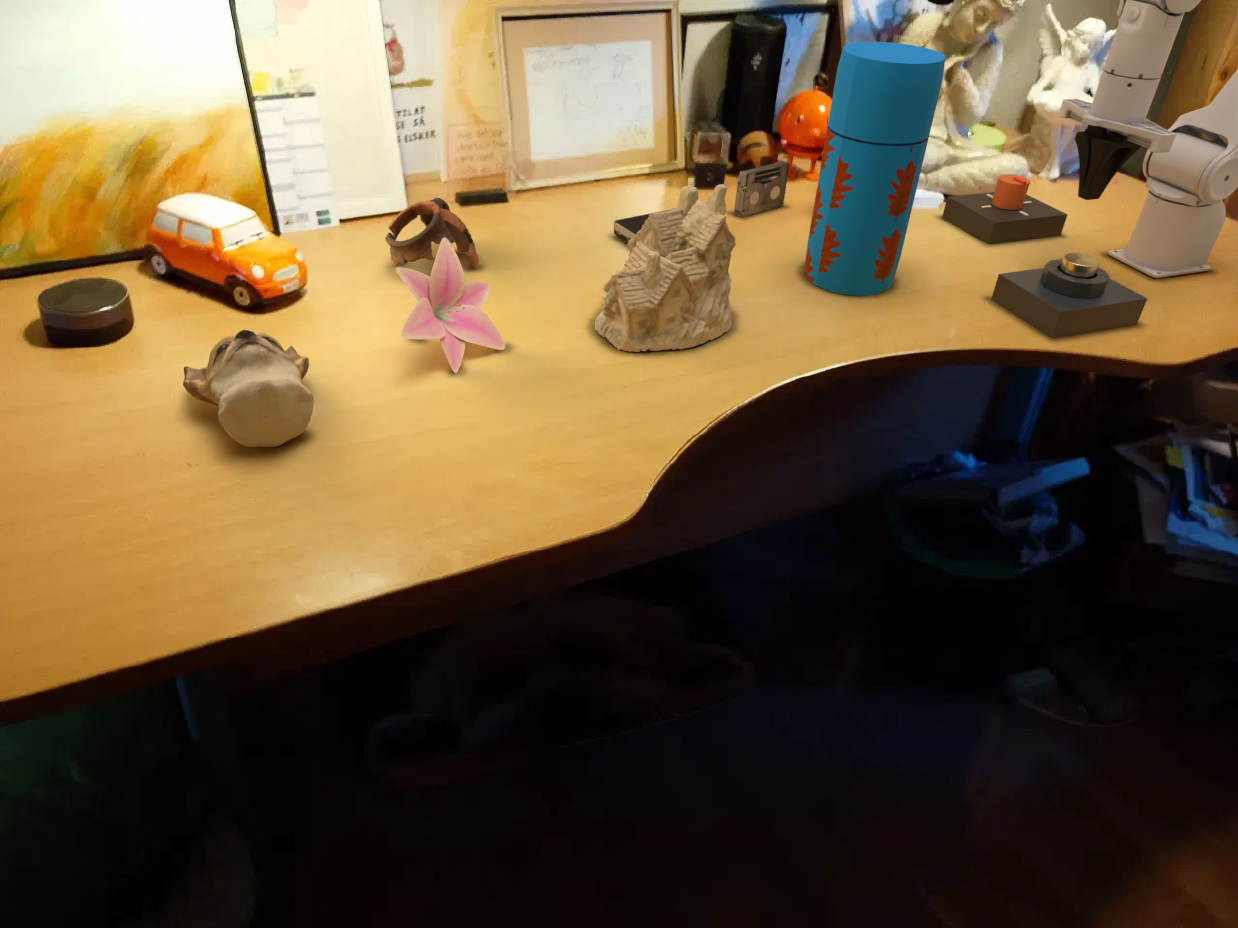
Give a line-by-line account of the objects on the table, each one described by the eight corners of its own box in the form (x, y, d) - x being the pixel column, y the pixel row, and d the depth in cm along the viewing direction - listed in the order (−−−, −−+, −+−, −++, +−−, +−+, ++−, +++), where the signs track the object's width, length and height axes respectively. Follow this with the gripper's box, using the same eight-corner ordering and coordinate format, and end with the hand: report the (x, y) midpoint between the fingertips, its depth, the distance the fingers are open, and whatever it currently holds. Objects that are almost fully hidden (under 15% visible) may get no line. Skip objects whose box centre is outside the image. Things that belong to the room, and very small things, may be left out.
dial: (985, 201, 123) (992, 173, 121) (1008, 198, 125) (1016, 171, 122) (1004, 211, 120) (1013, 183, 118) (1028, 208, 122) (1037, 180, 119)
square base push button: (1071, 287, 109) (1086, 248, 106) (1136, 324, 101) (1154, 283, 98) (990, 299, 105) (1003, 258, 102) (1051, 338, 97) (1067, 296, 94)
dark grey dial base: (1010, 210, 130) (1017, 188, 128) (1060, 236, 122) (1068, 213, 121) (941, 217, 126) (947, 195, 124) (988, 244, 119) (995, 221, 117)
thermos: (887, 262, 112) (937, 45, 98) (900, 299, 104) (957, 67, 89) (799, 255, 113) (835, 38, 98) (805, 292, 104) (846, 60, 90)
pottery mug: (485, 283, 104) (446, 229, 98) (414, 312, 106) (372, 262, 100) (484, 219, 111) (449, 166, 105) (418, 248, 114) (380, 198, 108)
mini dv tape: (775, 203, 128) (781, 160, 125) (783, 206, 127) (789, 163, 124) (733, 214, 124) (739, 170, 121) (741, 217, 123) (747, 173, 120)
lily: (386, 393, 85) (422, 324, 79) (353, 301, 90) (385, 229, 84) (496, 395, 92) (537, 332, 86) (460, 310, 97) (497, 244, 91)
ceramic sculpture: (187, 379, 66) (160, 308, 77) (213, 478, 71) (184, 398, 82) (332, 350, 71) (287, 287, 82) (348, 444, 76) (303, 373, 87)
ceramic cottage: (688, 273, 107) (694, 146, 97) (756, 340, 95) (771, 204, 86) (564, 298, 102) (557, 168, 93) (619, 372, 90) (619, 232, 81)
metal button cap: (1076, 266, 102) (1082, 251, 101) (1100, 279, 99) (1106, 264, 98) (1051, 269, 101) (1056, 254, 100) (1075, 282, 98) (1080, 267, 97)
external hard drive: (611, 235, 116) (612, 220, 115) (681, 221, 121) (682, 207, 120) (641, 255, 111) (642, 239, 110) (713, 239, 116) (714, 224, 115)
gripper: (1054, 59, 102) (1018, 180, 110) (1157, 92, 91) (1109, 223, 99) (1103, 57, 104) (1064, 175, 112) (1209, 88, 93) (1157, 217, 101)
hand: (1088, 197), depth 105 cm, fingers closed
